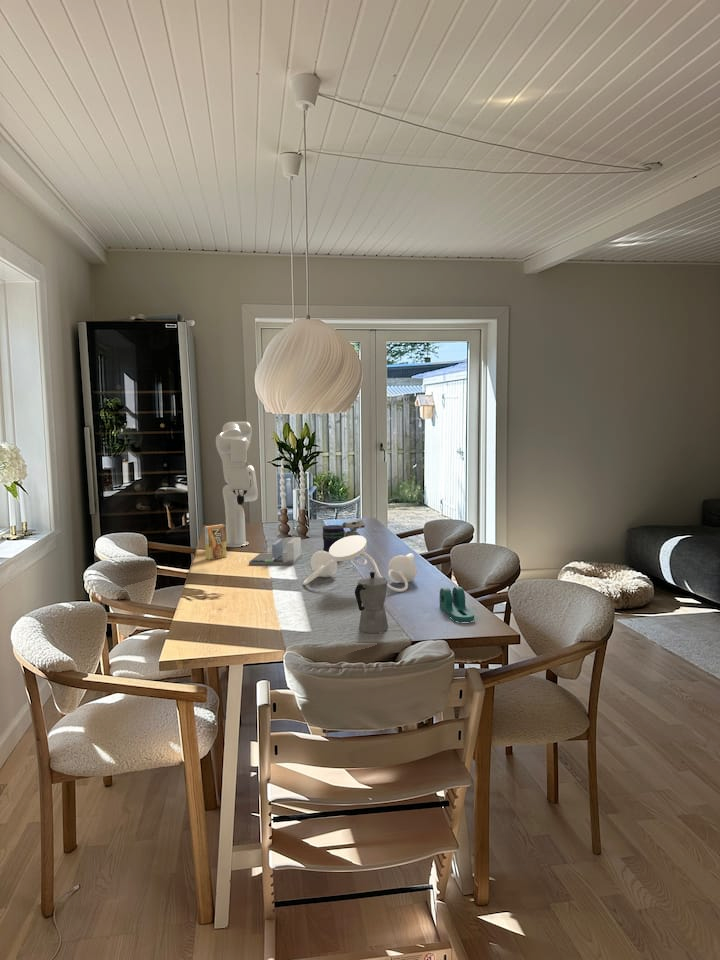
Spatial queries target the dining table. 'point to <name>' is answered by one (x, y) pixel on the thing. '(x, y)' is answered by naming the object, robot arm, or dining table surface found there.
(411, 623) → the dining table surface
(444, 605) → the bracket
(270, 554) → the gauge housing
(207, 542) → the candy box
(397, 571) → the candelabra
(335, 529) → the storage jar
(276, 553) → the pressure plate
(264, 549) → the dining table surface
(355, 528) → the figurine
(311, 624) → the dining table surface
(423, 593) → the dining table surface
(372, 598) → the coffeepot
